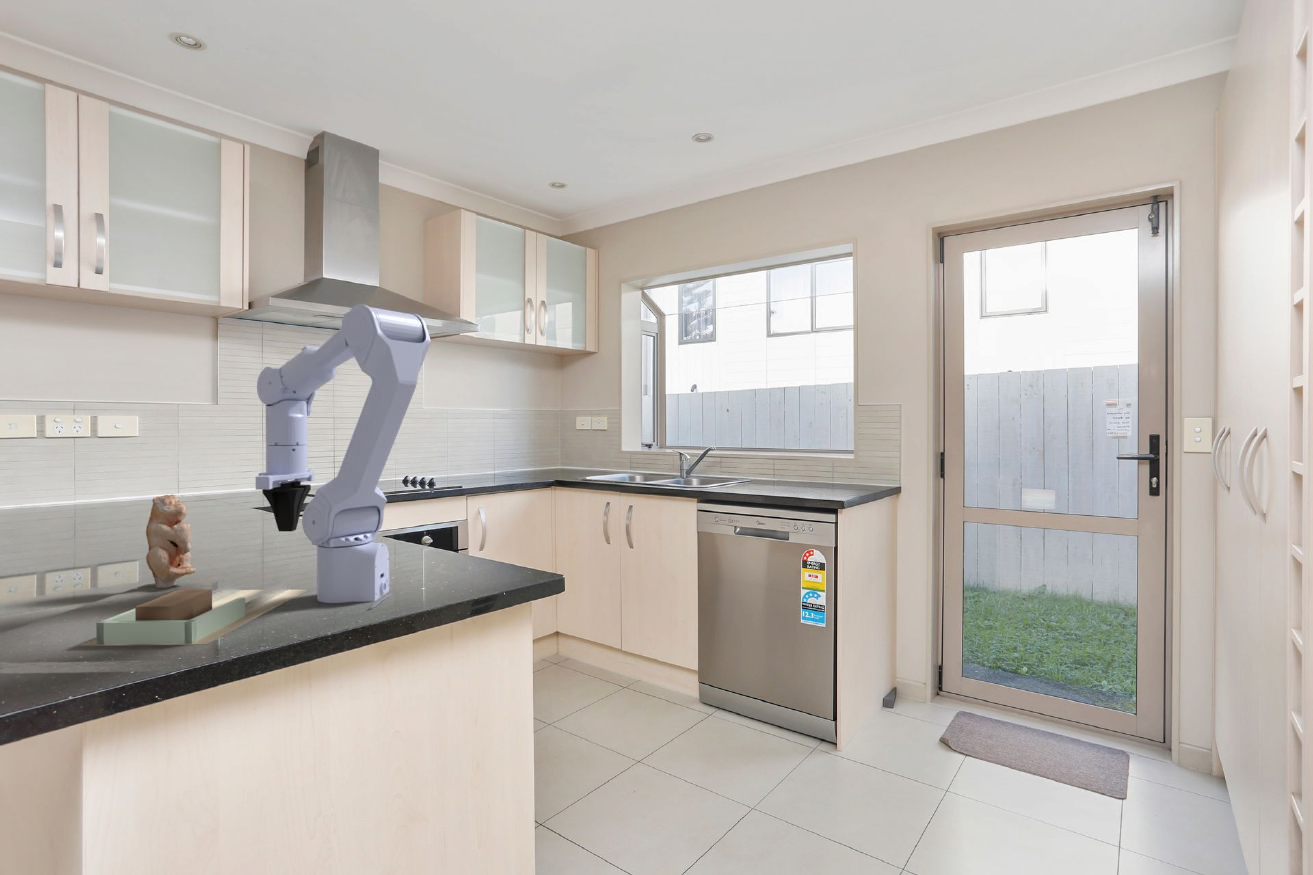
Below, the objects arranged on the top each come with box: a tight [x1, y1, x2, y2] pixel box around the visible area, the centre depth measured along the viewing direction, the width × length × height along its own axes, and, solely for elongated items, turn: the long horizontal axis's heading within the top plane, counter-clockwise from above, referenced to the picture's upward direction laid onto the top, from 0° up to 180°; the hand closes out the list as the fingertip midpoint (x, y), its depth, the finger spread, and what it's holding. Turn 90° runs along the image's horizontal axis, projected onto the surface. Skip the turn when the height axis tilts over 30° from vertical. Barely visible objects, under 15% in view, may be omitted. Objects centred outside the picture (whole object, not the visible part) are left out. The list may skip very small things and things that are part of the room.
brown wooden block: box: [158, 588, 213, 618], centre depth 83 cm, size 4×4×4 cm
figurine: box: [145, 494, 197, 589], centre depth 104 cm, size 6×8×15 cm
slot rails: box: [212, 581, 291, 612], centre depth 94 cm, size 8×13×1 cm, turn 3°
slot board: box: [79, 589, 309, 647], centre depth 88 cm, size 14×25×1 cm, turn 3°
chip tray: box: [95, 597, 245, 646], centre depth 82 cm, size 11×11×2 cm
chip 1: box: [134, 597, 193, 621], centre depth 79 cm, size 4×4×4 cm
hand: (287, 530), depth 105 cm, fingers closed
